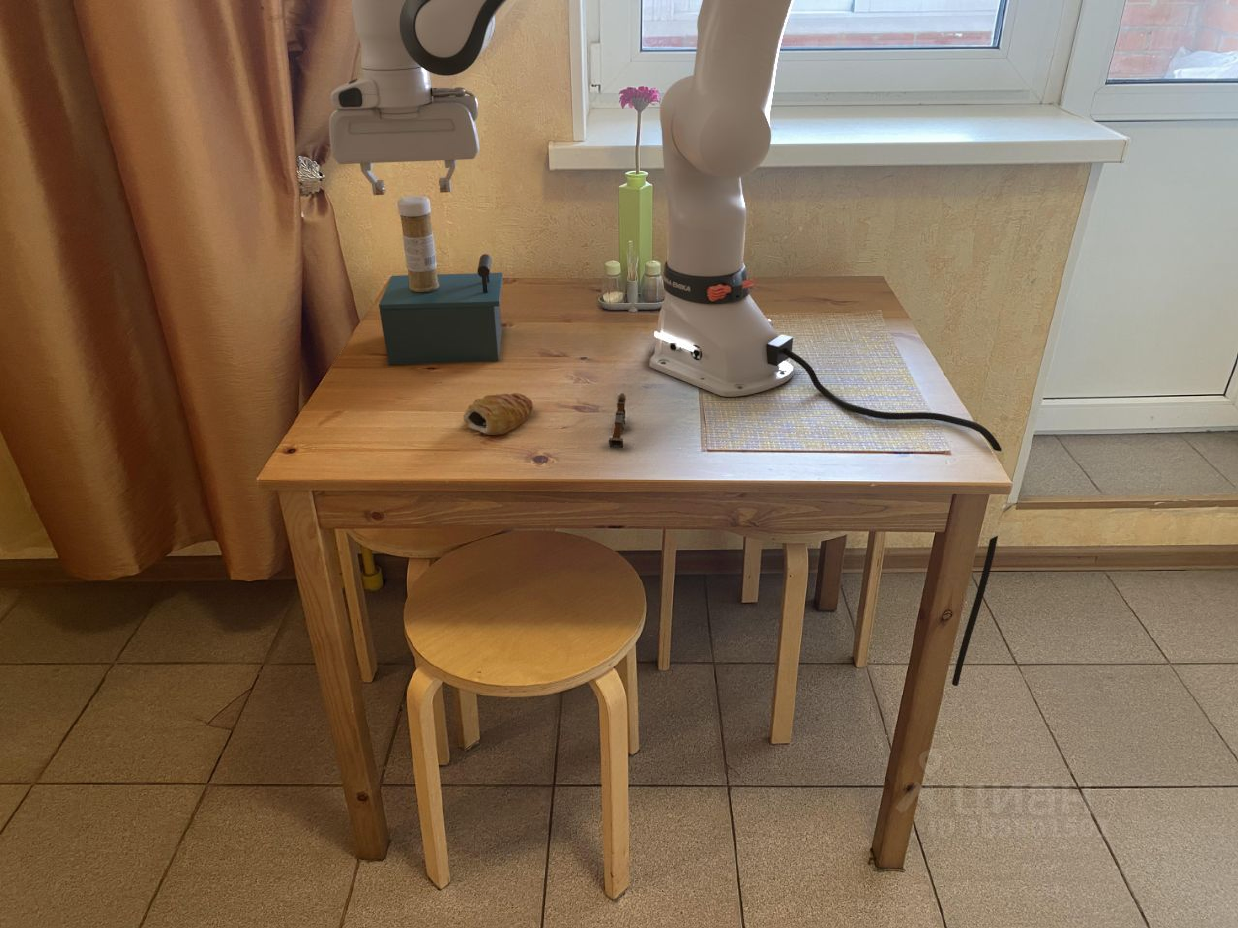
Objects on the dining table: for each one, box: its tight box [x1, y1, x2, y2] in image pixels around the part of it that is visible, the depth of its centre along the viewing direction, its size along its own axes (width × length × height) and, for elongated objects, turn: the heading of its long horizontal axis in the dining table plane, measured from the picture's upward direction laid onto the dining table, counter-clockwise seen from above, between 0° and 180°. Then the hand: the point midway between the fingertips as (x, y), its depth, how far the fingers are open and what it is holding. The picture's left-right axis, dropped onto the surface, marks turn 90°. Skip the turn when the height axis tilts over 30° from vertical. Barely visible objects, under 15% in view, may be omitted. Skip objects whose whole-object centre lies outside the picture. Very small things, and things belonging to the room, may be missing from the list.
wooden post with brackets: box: [608, 392, 627, 450], centre depth 114 cm, size 2×8×4 cm, turn 173°
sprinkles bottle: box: [397, 195, 439, 292], centre depth 130 cm, size 5×5×14 cm
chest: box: [379, 305, 503, 366], centre depth 137 cm, size 17×13×9 cm
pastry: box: [463, 392, 534, 436], centre depth 117 cm, size 9×7×4 cm
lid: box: [378, 253, 504, 311], centre depth 133 cm, size 17×13×5 cm
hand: (412, 193), depth 126 cm, fingers open, 8 cm apart
